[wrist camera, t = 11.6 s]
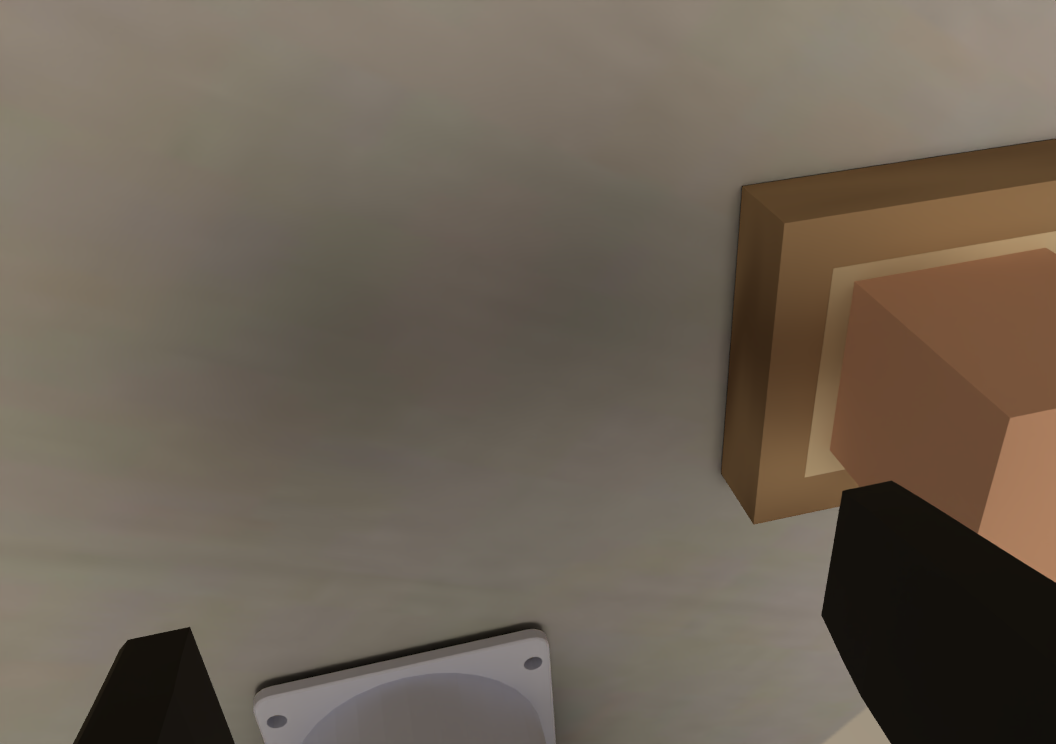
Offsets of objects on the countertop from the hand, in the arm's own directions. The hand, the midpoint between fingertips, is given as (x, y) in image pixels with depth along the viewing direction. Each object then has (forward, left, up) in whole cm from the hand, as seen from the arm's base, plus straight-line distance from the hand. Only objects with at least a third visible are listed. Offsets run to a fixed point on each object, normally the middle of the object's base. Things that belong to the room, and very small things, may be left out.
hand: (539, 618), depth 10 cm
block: (-4, -11, -8) cm, 14 cm away
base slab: (-4, -11, -10) cm, 16 cm away
